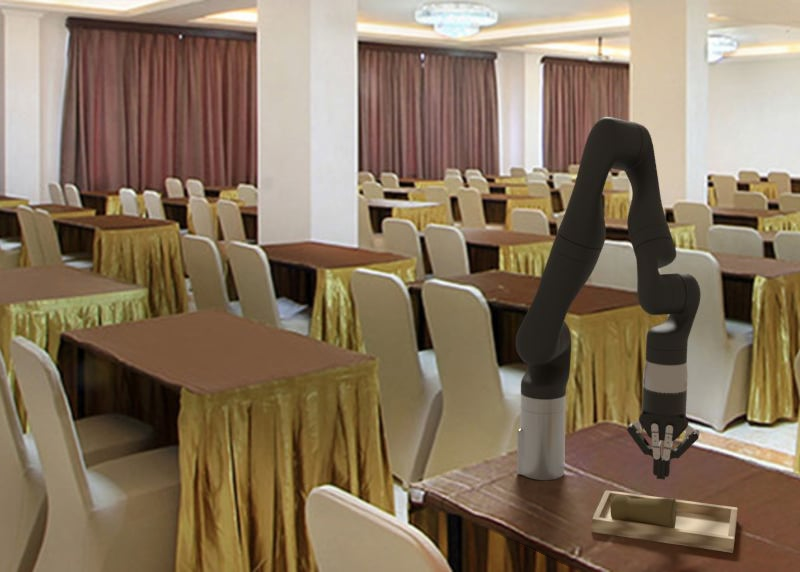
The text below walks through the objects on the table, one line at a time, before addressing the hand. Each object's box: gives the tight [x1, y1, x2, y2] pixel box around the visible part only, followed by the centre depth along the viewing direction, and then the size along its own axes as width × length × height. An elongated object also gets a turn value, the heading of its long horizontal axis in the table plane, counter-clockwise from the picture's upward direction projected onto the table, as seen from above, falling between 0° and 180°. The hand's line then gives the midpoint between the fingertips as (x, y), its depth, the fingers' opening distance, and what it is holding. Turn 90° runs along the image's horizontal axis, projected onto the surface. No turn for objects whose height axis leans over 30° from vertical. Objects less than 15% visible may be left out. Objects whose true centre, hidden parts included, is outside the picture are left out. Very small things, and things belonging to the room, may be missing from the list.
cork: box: [610, 495, 677, 528], centre depth 172 cm, size 6×6×11 cm
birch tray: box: [591, 489, 738, 554], centre depth 173 cm, size 24×14×2 cm, turn 69°
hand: (661, 477), depth 172 cm, fingers closed
